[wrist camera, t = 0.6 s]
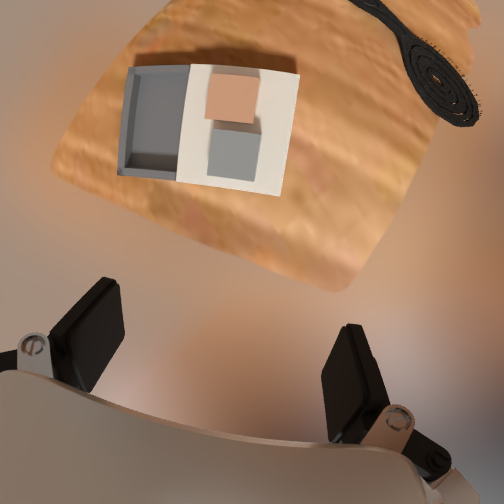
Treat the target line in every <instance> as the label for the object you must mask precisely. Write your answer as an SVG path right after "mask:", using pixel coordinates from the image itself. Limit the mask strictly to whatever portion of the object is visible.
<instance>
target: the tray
mask: <svg viewBox="0 0 504 504" xmlns="http://www.w3.org/2000/svg"><path fill="white" fill-rule="evenodd" d="M190 67H191V65H155V66H138V67H129V69H128V75H127V81H126V87H125V94H124V101H123V109H122V118H121V127H120V138H119V152H118V171H117V175H122V176H134V177H145V178H155V179H165V180H174V181H175V180H176V175H177V164H178V154H179V145H180V136H181V128H182V120H183V112H184V105H185V98H186V92H187V85H188V79H189V73H190Z"/></svg>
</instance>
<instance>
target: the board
mask: <svg viewBox="0 0 504 504" xmlns="http://www.w3.org/2000/svg"><path fill="white" fill-rule="evenodd" d="M211 73H212V74H227V75H239V76H248V77H257V78H260V80H261V84H260V91H259V97H258V103H257V110H256V116H255V122H254V124H246V123H238V122H230V121H220V120H209V119H204V117H205V110H206V103H207V97H208V90H209V84H210V78H211ZM299 79H300V75H297V74H292V73H286V72H280V71H273V70H266V69H258V68H249V67H239V66H226V65H208V64H191V67H190V73H189V79H188V85H187V92H186V98H185V105H184V112H183V120H182V128H181V136H180V145H179V154H178V164H177V175H176V182H183V183H192V184H200V185H207V186H215V187H222V188H229V189H236V190H243V191H249V192H255V193H262V194H268V195H274V196H280V193H281V188H282V182H283V176H284V171H285V165H286V159H287V153H288V147H289V141H290V135H291V129H292V123H293V117H294V111H295V105H296V98H297V92H298V86H299ZM212 129H221V130H230V131H238V132H246V133H253V134H260V135H262V138H261V145H260V151H259V158H258V164H257V171H256V177H255V181H254V182H251V181H244V180H238V179H231V178H223V177H216V176H208V175H207V168H208V160H209V151H210V144H211V136H212Z"/></svg>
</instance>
